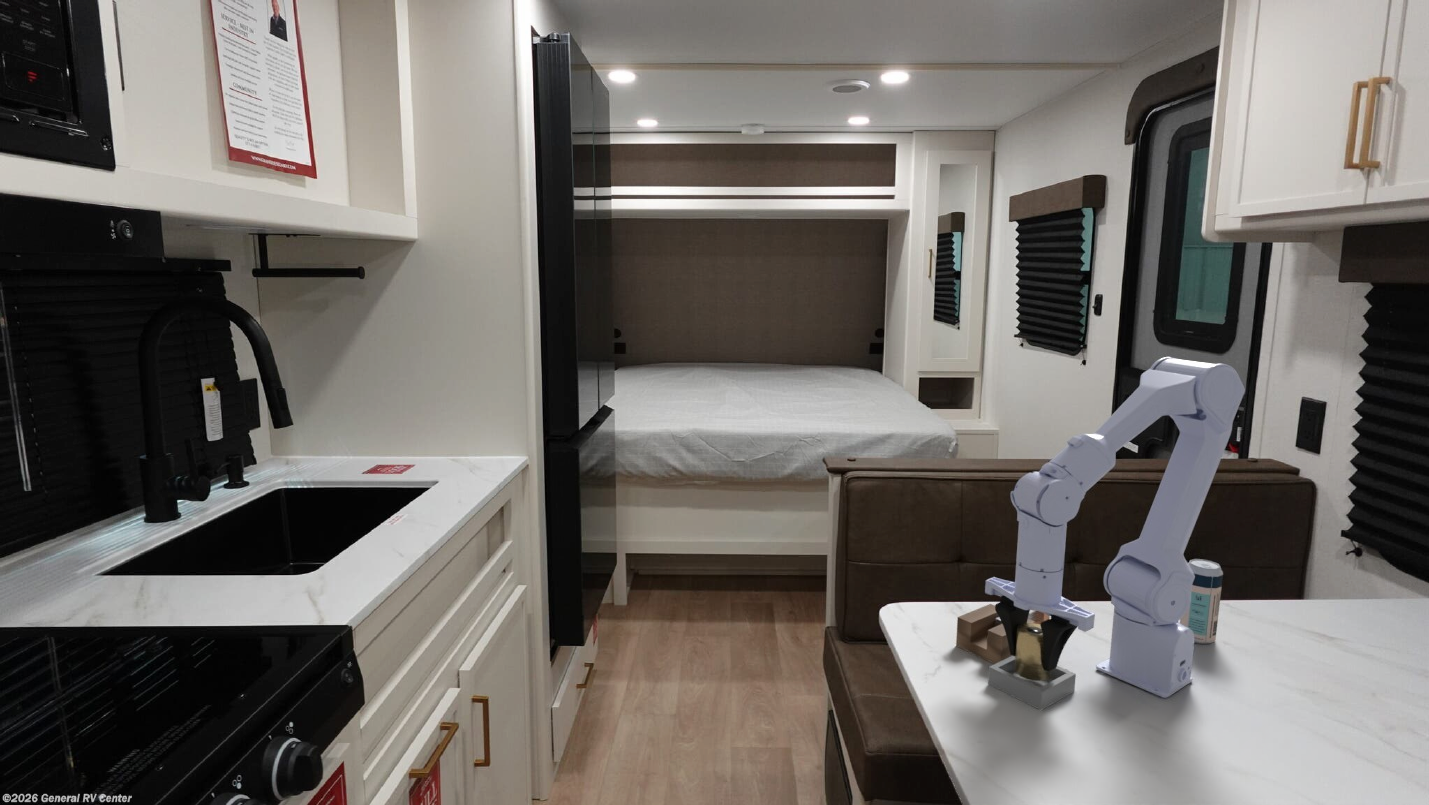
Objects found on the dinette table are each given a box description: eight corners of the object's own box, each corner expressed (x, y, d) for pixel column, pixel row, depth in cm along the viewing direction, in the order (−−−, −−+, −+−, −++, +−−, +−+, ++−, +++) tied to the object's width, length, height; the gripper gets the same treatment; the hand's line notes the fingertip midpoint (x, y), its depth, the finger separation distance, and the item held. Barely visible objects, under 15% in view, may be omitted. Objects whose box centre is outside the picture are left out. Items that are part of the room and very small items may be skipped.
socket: (1074, 691, 102) (1075, 673, 101) (1040, 710, 97) (1042, 692, 97) (1021, 667, 108) (1022, 650, 108) (988, 683, 104) (989, 666, 103)
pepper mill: (1056, 674, 102) (1059, 632, 101) (1037, 684, 99) (1040, 641, 98) (1026, 660, 105) (1029, 619, 104) (1007, 670, 103) (1010, 628, 102)
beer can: (1205, 631, 119) (1213, 558, 117) (1222, 646, 114) (1230, 570, 112) (1172, 630, 119) (1180, 557, 117) (1188, 645, 114) (1196, 569, 112)
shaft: (1048, 626, 118) (1050, 604, 117) (1012, 643, 112) (1013, 620, 112) (1025, 617, 121) (1027, 595, 121) (988, 633, 116) (989, 611, 115)
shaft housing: (1033, 650, 113) (1035, 621, 112) (1000, 666, 108) (1002, 636, 107) (988, 631, 119) (990, 603, 118) (956, 645, 114) (957, 617, 114)
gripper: (973, 554, 103) (968, 647, 106) (1075, 589, 92) (1067, 693, 94) (1004, 544, 107) (999, 634, 110) (1106, 576, 96) (1098, 676, 98)
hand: (1032, 660), depth 102 cm, fingers closed on pepper mill, 4 cm apart
